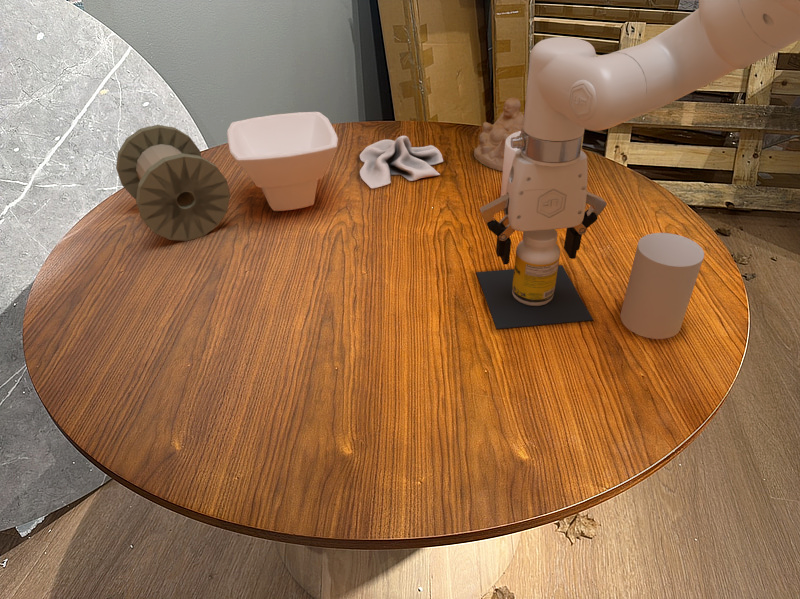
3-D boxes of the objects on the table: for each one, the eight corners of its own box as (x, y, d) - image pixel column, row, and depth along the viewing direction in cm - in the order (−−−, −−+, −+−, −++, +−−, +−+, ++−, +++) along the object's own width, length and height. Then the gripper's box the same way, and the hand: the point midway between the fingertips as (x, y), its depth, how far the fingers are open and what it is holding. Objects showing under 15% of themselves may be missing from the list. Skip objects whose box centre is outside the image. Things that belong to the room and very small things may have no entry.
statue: (556, 110, 124) (520, 104, 119) (533, 176, 131) (498, 174, 125) (518, 93, 133) (483, 87, 127) (498, 156, 139) (464, 153, 134)
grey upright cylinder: (693, 324, 87) (717, 252, 79) (655, 346, 83) (677, 274, 76) (645, 296, 92) (664, 226, 85) (608, 316, 89) (624, 245, 81)
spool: (130, 211, 117) (105, 136, 108) (207, 190, 123) (190, 117, 114) (152, 251, 105) (127, 170, 96) (236, 225, 112) (219, 147, 102)
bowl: (330, 174, 127) (323, 108, 119) (349, 219, 112) (343, 147, 104) (238, 187, 123) (224, 120, 115) (246, 236, 109) (231, 162, 100)
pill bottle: (514, 280, 96) (520, 218, 89) (554, 285, 94) (564, 223, 88) (508, 304, 91) (515, 240, 84) (551, 310, 90) (561, 246, 83)
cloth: (367, 142, 140) (365, 115, 136) (448, 146, 137) (449, 119, 133) (342, 187, 123) (340, 158, 119) (435, 193, 120) (435, 163, 116)
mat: (562, 265, 99) (562, 264, 99) (593, 320, 88) (593, 319, 88) (476, 273, 98) (476, 272, 98) (496, 329, 87) (496, 328, 87)
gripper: (491, 161, 75) (483, 276, 85) (629, 151, 76) (604, 266, 86) (478, 136, 81) (472, 247, 91) (606, 128, 82) (586, 238, 92)
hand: (536, 256), depth 89 cm, fingers open, 9 cm apart
